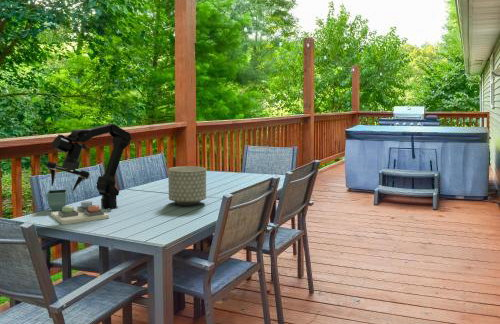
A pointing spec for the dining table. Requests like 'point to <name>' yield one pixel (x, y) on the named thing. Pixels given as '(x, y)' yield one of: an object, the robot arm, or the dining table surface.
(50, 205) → the flower pot
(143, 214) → the dining table surface
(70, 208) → the sage button
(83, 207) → the slate button
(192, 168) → the planter
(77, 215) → the button panel
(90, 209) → the brick button
